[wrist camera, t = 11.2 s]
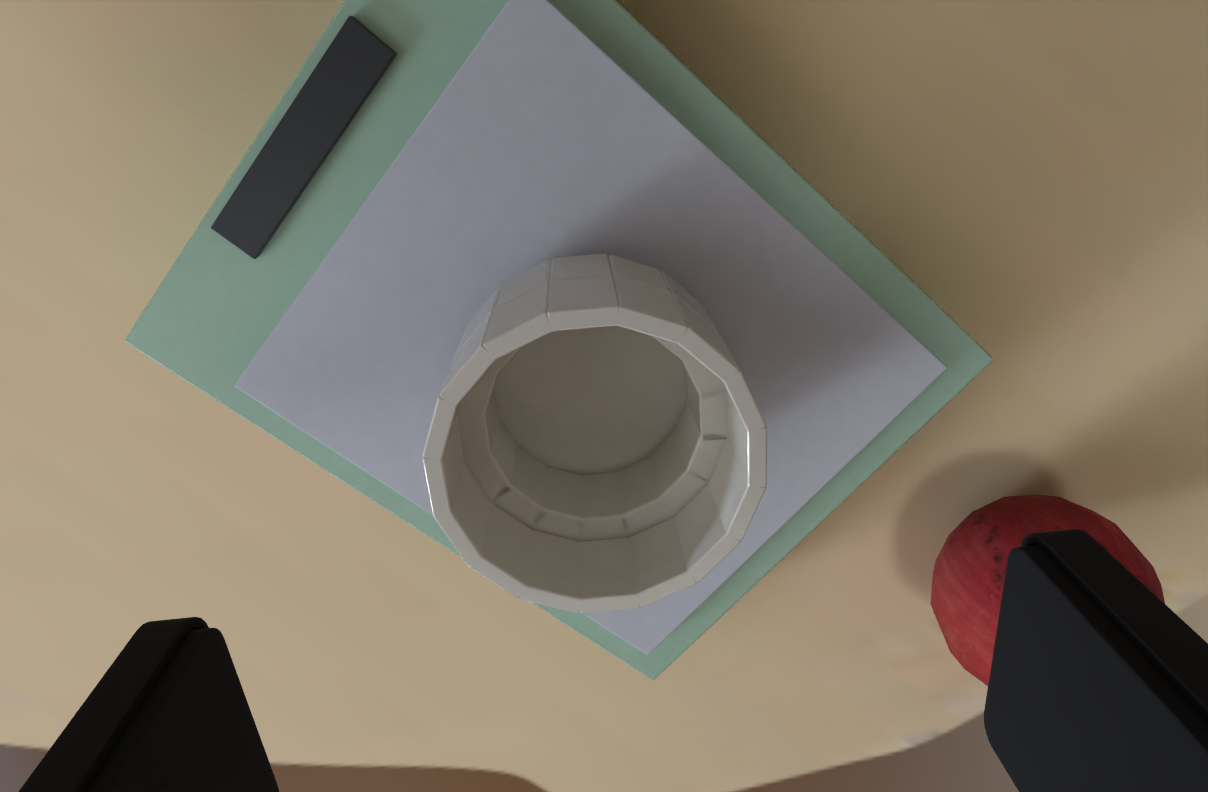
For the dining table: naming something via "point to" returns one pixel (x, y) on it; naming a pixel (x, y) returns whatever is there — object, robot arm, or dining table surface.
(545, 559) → the bowl
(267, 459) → the dining table surface
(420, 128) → the scale
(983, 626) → the onion
